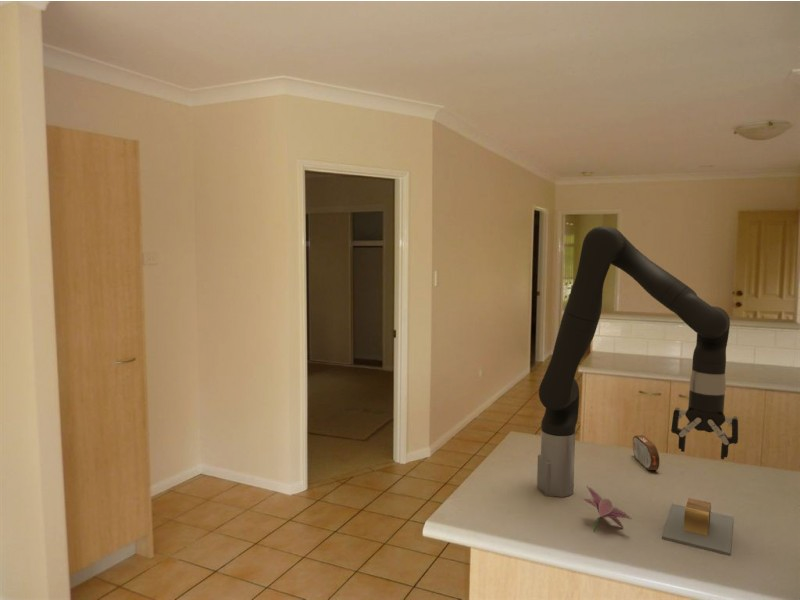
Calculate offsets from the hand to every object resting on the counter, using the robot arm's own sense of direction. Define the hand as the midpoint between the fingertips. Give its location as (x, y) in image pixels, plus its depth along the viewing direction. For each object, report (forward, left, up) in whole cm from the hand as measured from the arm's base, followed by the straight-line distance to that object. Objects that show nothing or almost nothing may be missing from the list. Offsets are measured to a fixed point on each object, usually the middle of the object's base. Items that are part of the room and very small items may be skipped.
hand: (702, 454), depth 138 cm
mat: (-1, -1, -18) cm, 18 cm away
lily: (-23, +4, -19) cm, 30 cm away
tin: (+11, +38, -19) cm, 44 cm away
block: (+1, +2, -15) cm, 15 cm away
